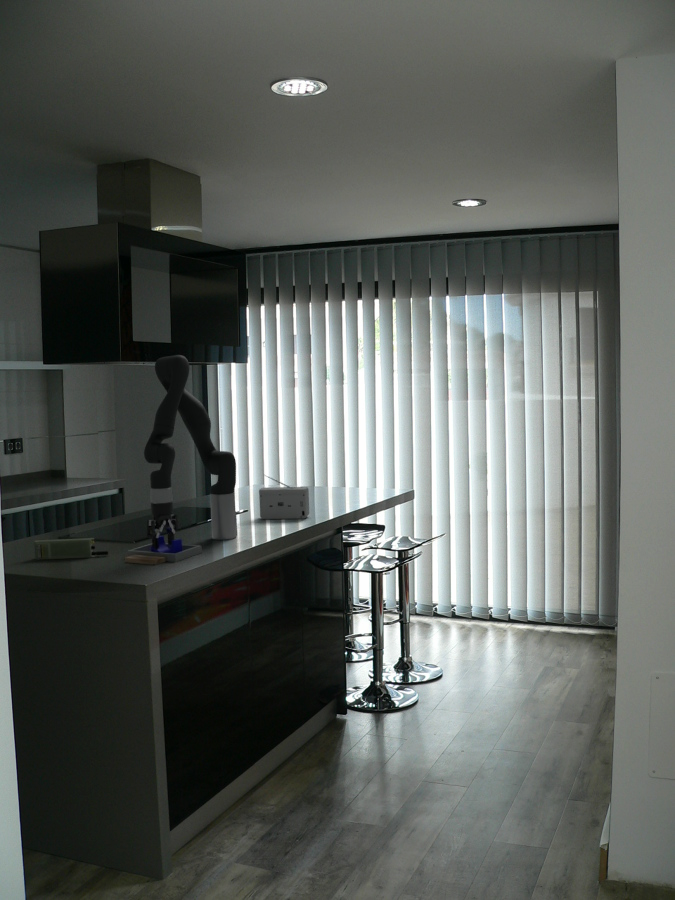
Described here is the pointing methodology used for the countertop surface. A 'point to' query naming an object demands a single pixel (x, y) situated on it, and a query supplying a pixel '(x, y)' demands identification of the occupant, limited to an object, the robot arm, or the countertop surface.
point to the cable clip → (163, 548)
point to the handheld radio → (65, 548)
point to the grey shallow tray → (185, 553)
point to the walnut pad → (145, 559)
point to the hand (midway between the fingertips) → (163, 546)
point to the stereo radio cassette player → (284, 502)
